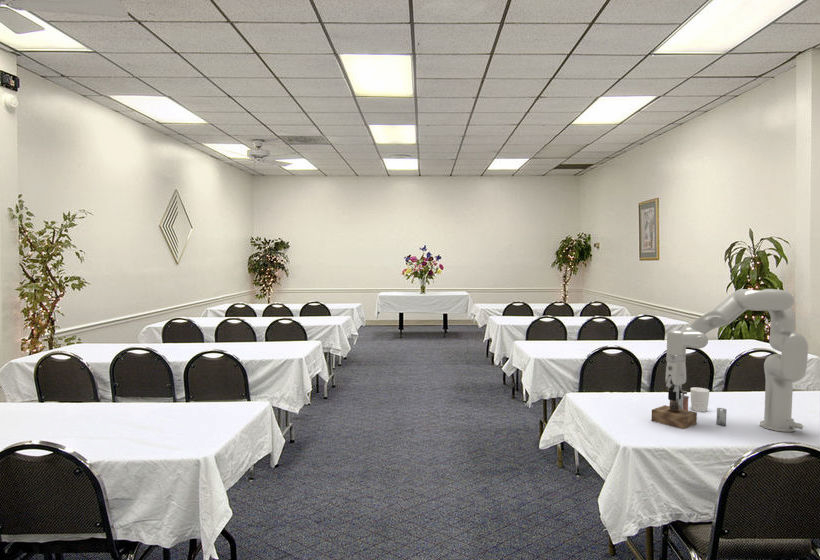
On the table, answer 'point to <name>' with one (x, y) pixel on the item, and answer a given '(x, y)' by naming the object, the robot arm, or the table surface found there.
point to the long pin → (675, 404)
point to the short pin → (721, 416)
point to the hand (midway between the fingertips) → (674, 399)
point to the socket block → (674, 417)
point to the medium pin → (681, 402)
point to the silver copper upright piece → (685, 400)
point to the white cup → (699, 399)
